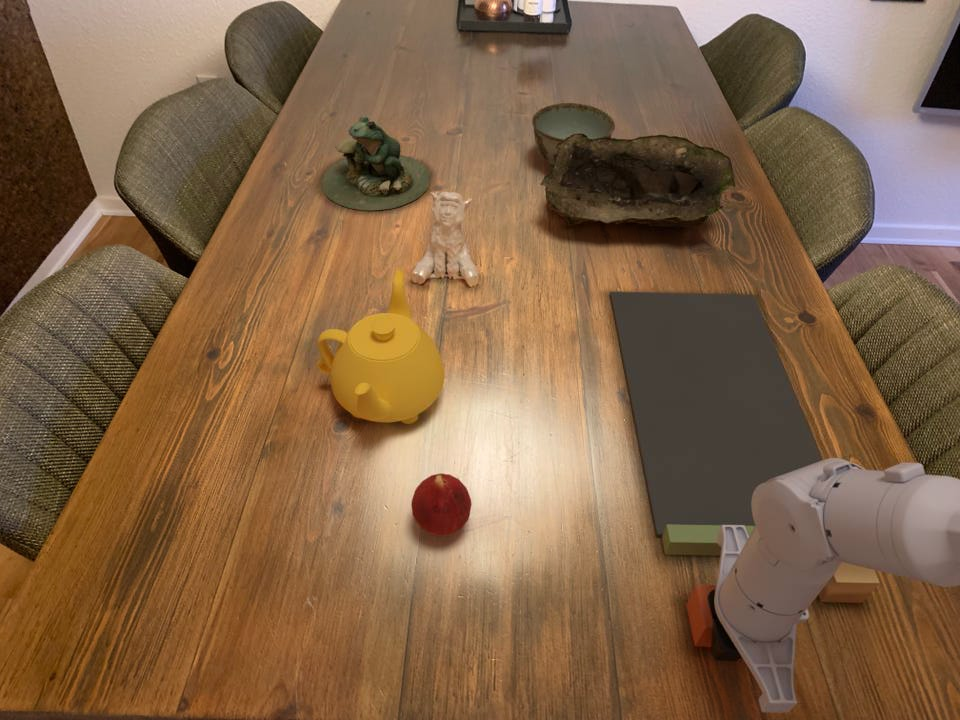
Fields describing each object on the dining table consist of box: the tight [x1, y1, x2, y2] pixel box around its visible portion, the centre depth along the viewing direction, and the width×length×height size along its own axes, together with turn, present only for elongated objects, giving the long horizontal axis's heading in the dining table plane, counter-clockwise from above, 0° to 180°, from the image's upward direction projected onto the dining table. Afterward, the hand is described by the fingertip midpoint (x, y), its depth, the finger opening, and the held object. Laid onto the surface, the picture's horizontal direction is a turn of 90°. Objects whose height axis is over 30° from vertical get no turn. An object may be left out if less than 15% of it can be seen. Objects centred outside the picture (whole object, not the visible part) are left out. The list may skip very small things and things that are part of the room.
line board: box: [609, 291, 823, 557], centre depth 84 cm, size 40×20×2 cm, turn 0°
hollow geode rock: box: [540, 133, 737, 229], centre depth 108 cm, size 28×13×15 cm
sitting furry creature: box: [410, 191, 480, 288], centre depth 98 cm, size 10×9×12 cm
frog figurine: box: [320, 115, 431, 211], centre depth 114 cm, size 18×18×12 cm
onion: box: [410, 473, 472, 537], centre depth 69 cm, size 6×6×8 cm
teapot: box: [316, 268, 445, 425], centre depth 80 cm, size 20×15×12 cm
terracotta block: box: [685, 584, 716, 648], centre depth 64 cm, size 4×4×4 cm
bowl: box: [531, 102, 616, 168], centre depth 120 cm, size 14×13×8 cm
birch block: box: [817, 562, 881, 604], centre depth 67 cm, size 4×4×4 cm
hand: (724, 653), depth 62 cm, fingers closed
